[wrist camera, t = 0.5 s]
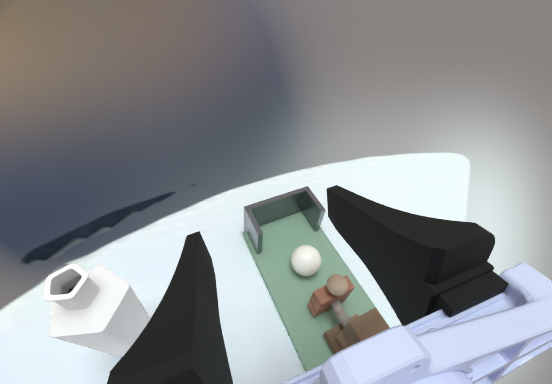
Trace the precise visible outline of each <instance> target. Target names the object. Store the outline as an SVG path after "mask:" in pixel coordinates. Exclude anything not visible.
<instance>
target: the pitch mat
mask: <svg viewBox="0 0 552 384" xmlns="http://www.w3.org/2000/svg"><path fill="white" fill-rule="evenodd" d="M260 228H261V230H262V232H263V240H262V253H260V254H257V253H256V251H255V249H254V247H253V245H252V243H251V240H250V238H249V236H248V234H247V232H243V236H244V239H245V241H246V243H247V245H248V247H249V249H250V252H251V254H252V256H253V258H254V260H255V262H256V265H257V267H258V269H259V271H260V273H261V275H262V278H263V280H264V282H265V284H266V286H267V288H268V291H269V293H270V295H271V297H272V299H273V301H274V304H275V306H276V308H277V310H278V312H279V314H280V317H281V319H282V321H283V323H284V325H285V327H286V330H287V332H288V334H289V336H290V338H291V340H292V342H293V345H294V347H295V349H296V351H297V353H298V355H299V358H300V360H301V362H302V364H303V366H304V368H305V371H306V372H307V371H309V370H312V369H314V368H316V367H318V366H320V365H322V364H324V363H325V362H326V361H327V360H328V359H329V358H330V357H331V356H333V355H334V354H333V352H332V351H331V349H330V347H329V345H328V343H327V341H326V339H325V338H324V336H323V334H324V333H325V331H327V330H329V329H331V328H333V327H334V326H336V325H338V324H340V323H341V322H340V321H339V319H338V317H337V316H336V314H335V312H334V311H333V309H332V308H331V309H329V310H327V311H325V312H323V313H321V314H320V315H318V316H316V317H313V315H312V313H311V311H310V310H309V308H308V306H307V304H308V302H309V300H310V298H311V296H312V294H313V291H315V290H317V289H319V288H321V287H323V286H325V285H326V283H327V280H328V278H329V277H330V276H331V275H334V274H339V275H342V276H343V277H344V276H346V275H347V276H348V278H349V279H350V281H351V282H352V284H353V285H354V286H355V288H354V289H353V291H352V292H351V293H350V295H349V296H348V297H347V299H346V300H345V301H344V302H342V303H341V305H342V306H343V308H344V309H345V311H346V313H347V314H348V316H349V318H351V317H352V316H354V315H356V314H358V315H359V316H360V315H362V314H364V313H366V312H368V311H369V310H371V309H373V308H375V306H374V304H373V303H372V301H371V300H370V298H369V297H368V296H367V294H366V293H365V291H364V290H363V288H362V287H361V285H360V284H359V283H358V281H357V280H356V278H355V277H354V275H353V274H352V272H351V271H350V270H349V268H348V267H347V265H346V264H345V262H344V261H343V259H342V258H341V257H340V255H339V254H338V252H337V251H336V249H335V248H334V246H333V245H332V244H331V242H330V241H329V239H328V238H327V236H326V235H325V233H324V232H323V231H322V229H321V228H320V227H319V230H318V231H316V232H314V230H313V229H312V227H311V226H310V224H309V223H308V221H307V220H306V218H305V217H304V215H303V214H302V212H299V213H296V214H293V215H290V216H288V217H285V218H282V219H279V220H276V221H274V222H271V223H268V224H265V225H262V226H260ZM302 245H310V246H312V247H314V248H315V249H317V251H318V252H319V254H320V256H321V266H320V268H319V270H318V271H317V272H316V273H315V274H313V275H311V276H303V275H300V274H298V273H297V272H296V271H295V270H294V269H293V267H292V264H291V256H292V253H293V252H294V250H295V249H296V248H298V247H299V246H302ZM376 309H377V308H376ZM378 312H379V311H378ZM380 315H381V314H380ZM385 322H386V321H385ZM387 325H388V324H387ZM389 328H390V327H389Z"/></svg>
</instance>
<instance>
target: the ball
mask: <svg viewBox="0 0 552 384" xmlns="http://www.w3.org/2000/svg"><path fill="white" fill-rule="evenodd" d="M291 264H292V267H293V269H294V270H295V271H296V272H297V273H298V274H300V275H303V276H311V275H313V274H315V273H316V272H317V271H318V270H319V268H320V266H321V256H320V254H319V252H318V251H317V249H315V248H314V247H312V246H310V245H302V246H299V247H298V248H296V249H295V250H294V252H293V253H292V256H291Z"/></svg>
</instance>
